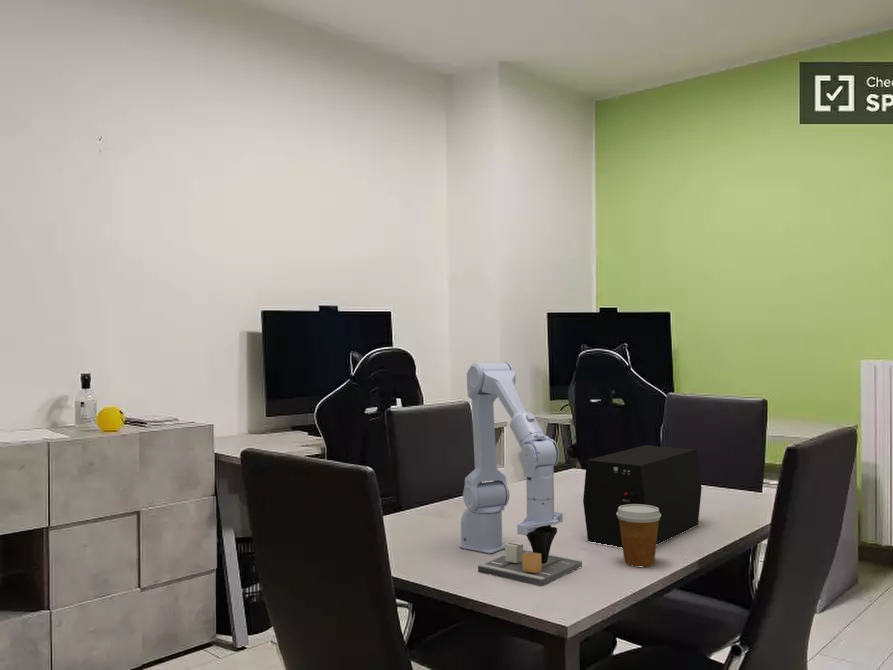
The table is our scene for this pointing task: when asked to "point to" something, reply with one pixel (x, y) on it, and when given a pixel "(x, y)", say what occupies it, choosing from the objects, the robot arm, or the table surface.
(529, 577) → the fader board
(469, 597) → the table surface
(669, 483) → the uninterruptible power supply
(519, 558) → the fader
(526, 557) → the block
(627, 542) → the disposable coffee cup
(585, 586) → the table surface
